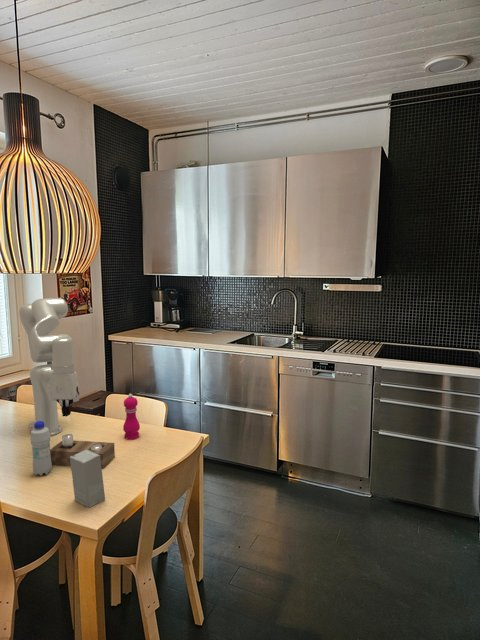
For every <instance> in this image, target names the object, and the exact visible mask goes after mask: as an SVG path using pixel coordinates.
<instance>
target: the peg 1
mask: <svg viewBox="0 0 480 640" xmlns="http://www.w3.org/2000/svg"><path fill="white" fill-rule="evenodd" d="M73 440H74V435H73V434H71V433H65V434H63V435H62V436H61V441H62V447H63V448H66V449H71V448H72V447H73Z"/></svg>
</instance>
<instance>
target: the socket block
mask: <svg viewBox="0 0 480 640" xmlns="http://www.w3.org/2000/svg"><path fill="white" fill-rule="evenodd" d="M96 444H100V445H102V449H101V450H100V451H97V450H91V446H93V445H96ZM84 450H89V451H91V452H93V453H96V454H98V455H100V460H101V468H102V470H105V468H106V467H107V466H108V465H109V464H110V463H111V462H112V461H113V460H114V459H115V457H116V455H115V454H116V453H115V452H116V451H115V450H116V449H115V442H107V441H103V442H102V441H89V440H88V441H87V440H74V439H73V447H72V448H71V449H66V448H63V447H62V440H61V441H59V442H58V443H57V444H56V445H54V446H53V447H50V456H51V463H52V466H54V465H56V467H57V466H59V467H69V468H71V464H70V456H73V455H75V454H78V453H80V452H82V451H84Z"/></svg>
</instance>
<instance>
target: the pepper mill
mask: <svg viewBox="0 0 480 640" xmlns="http://www.w3.org/2000/svg"><path fill="white" fill-rule="evenodd" d="M123 406H124V407H125V408H124V410H125V411H124V412H125V413H126V414H125V416H126V418H125V421H124V423H123V428H122V430H123V432H124V439H126V440H130V441H131V440H137V439H138V438H139V437H140V433H139V431H140V428H141V424H140V423H139V420H138V418H137V414H136V413H137V406H138V400H137V398H136V397H134V396H133V394H132V393H129V394H128V397H126V398H125V399H124V401H123Z"/></svg>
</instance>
